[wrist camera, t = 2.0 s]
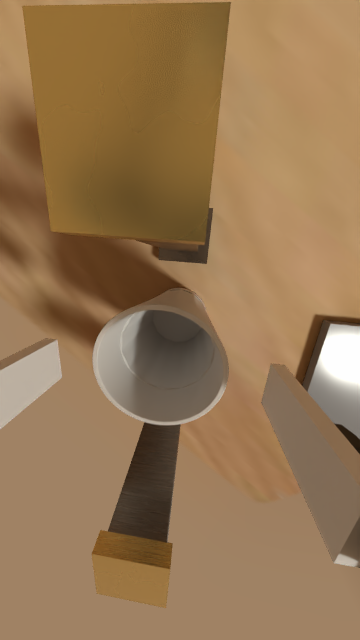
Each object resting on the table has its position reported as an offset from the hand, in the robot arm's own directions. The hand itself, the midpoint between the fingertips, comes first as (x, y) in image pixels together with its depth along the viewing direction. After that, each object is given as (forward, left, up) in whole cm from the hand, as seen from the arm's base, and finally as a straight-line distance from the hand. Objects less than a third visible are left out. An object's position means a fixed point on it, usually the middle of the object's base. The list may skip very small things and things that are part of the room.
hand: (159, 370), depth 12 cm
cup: (0, 0, -12) cm, 12 cm away
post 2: (+8, 0, -11) cm, 14 cm away
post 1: (-9, 0, -11) cm, 14 cm away
